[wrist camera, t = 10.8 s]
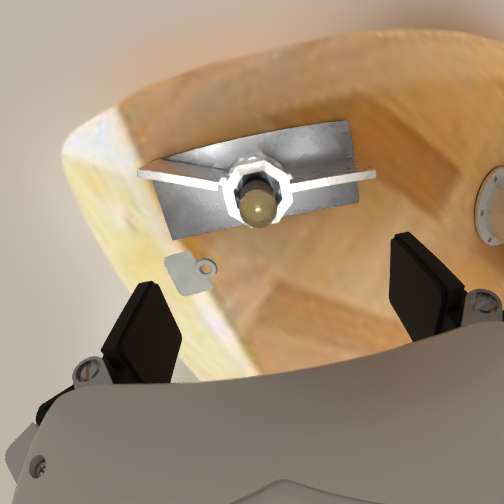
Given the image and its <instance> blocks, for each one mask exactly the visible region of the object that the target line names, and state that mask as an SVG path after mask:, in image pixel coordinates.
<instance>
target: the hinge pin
mask: <svg viewBox="0 0 504 504" xmlns="http://www.w3.org/2000/svg"><path fill="white" fill-rule="evenodd" d="M239 214H240V217H241V219H242V220H243V222H244V223H245V224H247V225H248V226H250V227H254V228H262V227H266V226H268V225H269V224H271V223H272V222H273V221H274V219H275V218H276V215H277V204H276V201H275V198H274V195H273V192H272V189H271V185H270V182H269V179H268V176H267V174H266V172H264V171H259V172H254V173H250V174H245V175H243V177H242V186H241V196H240V205H239Z"/></svg>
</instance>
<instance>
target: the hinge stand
mask: <svg viewBox="0 0 504 504" xmlns="http://www.w3.org/2000/svg"><path fill="white" fill-rule="evenodd" d="M251 154H252V155H257V156H262V157H263V158H258V159H253V160H248V161H244V162H240V161H241V160H243V159H245V158H246V157H248V156H249V155H251ZM264 157H266V158H270V159H275V160H276V162H277V163H278V165H279V166H280V167H278V166H277V165H275V164H273V163H272V162H270V161H269V160H267V159H266V158H264ZM161 160H168V161H174V162H181V163H187V164H193V165H198V166H204V167H210V168H215V169H220V170H225V171H224V174H227V175H229V172H230V168H231V167H232V166H234V165H235V164H237V165H236V166H235V168H234V170H233V171H232V173H231V174H230V176H229V178H228V179H227V181H226V182H225V184H224V186H222V185H220V186H219V188H218V191H215V190H209V189H204V188H198V187H193V186H187V185H182V184H176V183H170V182H164V181H158V180H153V182H154V186H155V189H156V192H157V195H158V198H159V201H160V205H161V208H162V211H163V214H164V217H165V220H166V223H167V225H168V228H169V231H170V234H171V237H172V240H177V239H181V238H186V237H190V236H194V235H199V234H203V233H208V232H212V231H217V230H222V229H226V228H231V227H235V226H240V225H245V223H244V222H243V220H242V219H241V217H240V214H239V205H240V203H238V200H237V196H236V192H235V187H236V190H237V191H238V193H239V194H240V196H241V186H242V177H243V175H245V174H250V173H254V172H259V171H264V172H266V174H267V176H268V179H269V182H270V185H271V189H272V192H273V195H274V196H275V192H276V188H277V185H278V183H279V188H280V193H281V194H280V195H279V197H278V198H277V200H276V204H277V215H276V218H275V219H274V221H273V222H272V223H271V224H273V223H278V222H279V220H280V219H281V217H284V216H289V215H294V214H299V213H304V212H309V211H314V210H319V209H325V208H330V207H335V206H341V205H346V204H352V203H357V202H359V196H358V186H357V181H360V180H366V179H372V178H376V170H375V169H373V168H370V167H368V166H366V165H364V164H362V163H360V162H358V161H356V160H354V153H353V146H352V139H351V133H350V127H349V121H348V120H341V121H332V122H324V123H317V124H310V125H304V126H297V127H291V128H286V129H280V130H275V131H269V132H264V133H259V134H254V135H250V136H245V137H241V138H236V139H232V140H228V141H224V142H219V143H215V144H211V145H208V146H204V147H200V148H196V149H193V150H189V151H186V152H182V153H179V154H175V155H172V156H169V157H165V158H162V159H161ZM238 162H239V163H238ZM150 163H151V162H150ZM148 164H149V163H148ZM246 225H247V224H246ZM249 227H250V226H249ZM251 228H254V227H251Z"/></svg>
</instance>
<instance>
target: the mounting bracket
mask: <svg viewBox="0 0 504 504" xmlns="http://www.w3.org/2000/svg"><path fill="white" fill-rule="evenodd" d="M164 264H165V266H166V269H167V271H168V273H169V275H170V277H171V278H172V280H173V282H174V284H175V286H176V288H177V290H178V292H179V293H180V294H181V295H183V296H188V295H192V294H195V293H199V292H203V291H207V290H210V289H214V288H213V286H212V285H211V283H210V282H209V280H208V279H210V278H212V277H214V275H215V274H216V273H217V265H216V264H215V262H213V261H212V260H210V259H206V258H205V259H200V260H198V261H197V262H196V260H195V259H194V257H193V255H192V254H191V252H190V251H189V250H188V251H185V252H181V253H178V254H175V255H172V256H168V257H166V258H165V260H164ZM204 264H207V265H209V266H210V267H211V272H210V273H208V274H205V273H204V272H203V271H202V269H201V268H200V267H201V266H202V265H204Z"/></svg>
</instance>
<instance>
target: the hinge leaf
mask: <svg viewBox="0 0 504 504" xmlns="http://www.w3.org/2000/svg"><path fill="white" fill-rule="evenodd" d="M258 158H263V157H262V156H257V155H252V154H251V155H249V156H248V157H246V158H245V159H243V160H241V161H240V162H244V161H248V160H253V159H258ZM264 158H266V157H264ZM266 159H267V160H269V161H270V162H272V163H273V164H275V165H277V166H278V167H280V166H279V165H278V163H277V162H276V160H275V159H270V158H266ZM238 163H239V162H238ZM236 165H237V164H235V165H234V166H232V167H231V168H230V172H229V175H227V174H224V171H225V170H220V169H215V168H210V167H204V166H198V165H193V164H187V163H181V162H174V161H168V160H161V159H157V160H155V161H153V162H151V163H149V164H147V165H145V166H143V167H141V168H139V169H138V171H137V177H139V178H145V179H151V180H158V181H164V182H170V183H176V184H182V185H187V186H193V187H198V188H204V189H209V190H215V191H218V188H219V186H220V185H222V186H224V184H225V182H226V181H227V179H228V178H229V176H230V174H231V173H232V171H233V170H234V168H235V166H236ZM235 192H236V196H237V200H238V203H240V194H239V193H238V191H237V190H236V187H235ZM280 194H281V193H280V188H279V183H278V185H277V188H276V192H275V196H274V198H275V201H276V200H277V198H278V197H279V195H280Z"/></svg>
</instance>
